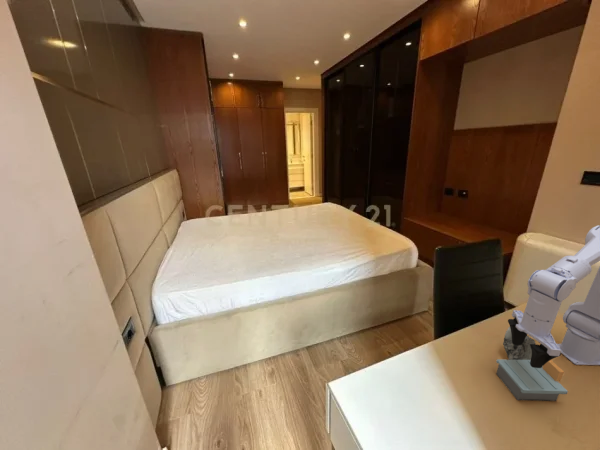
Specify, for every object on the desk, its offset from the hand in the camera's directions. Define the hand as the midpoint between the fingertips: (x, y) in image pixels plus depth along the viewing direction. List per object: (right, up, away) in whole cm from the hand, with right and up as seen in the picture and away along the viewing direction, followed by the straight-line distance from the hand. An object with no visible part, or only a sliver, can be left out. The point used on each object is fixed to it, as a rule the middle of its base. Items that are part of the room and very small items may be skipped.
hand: (525, 354), depth 67 cm
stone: (+8, -7, +13) cm, 16 cm away
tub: (+1, -10, +2) cm, 10 cm away
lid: (+2, -7, +1) cm, 7 cm away
